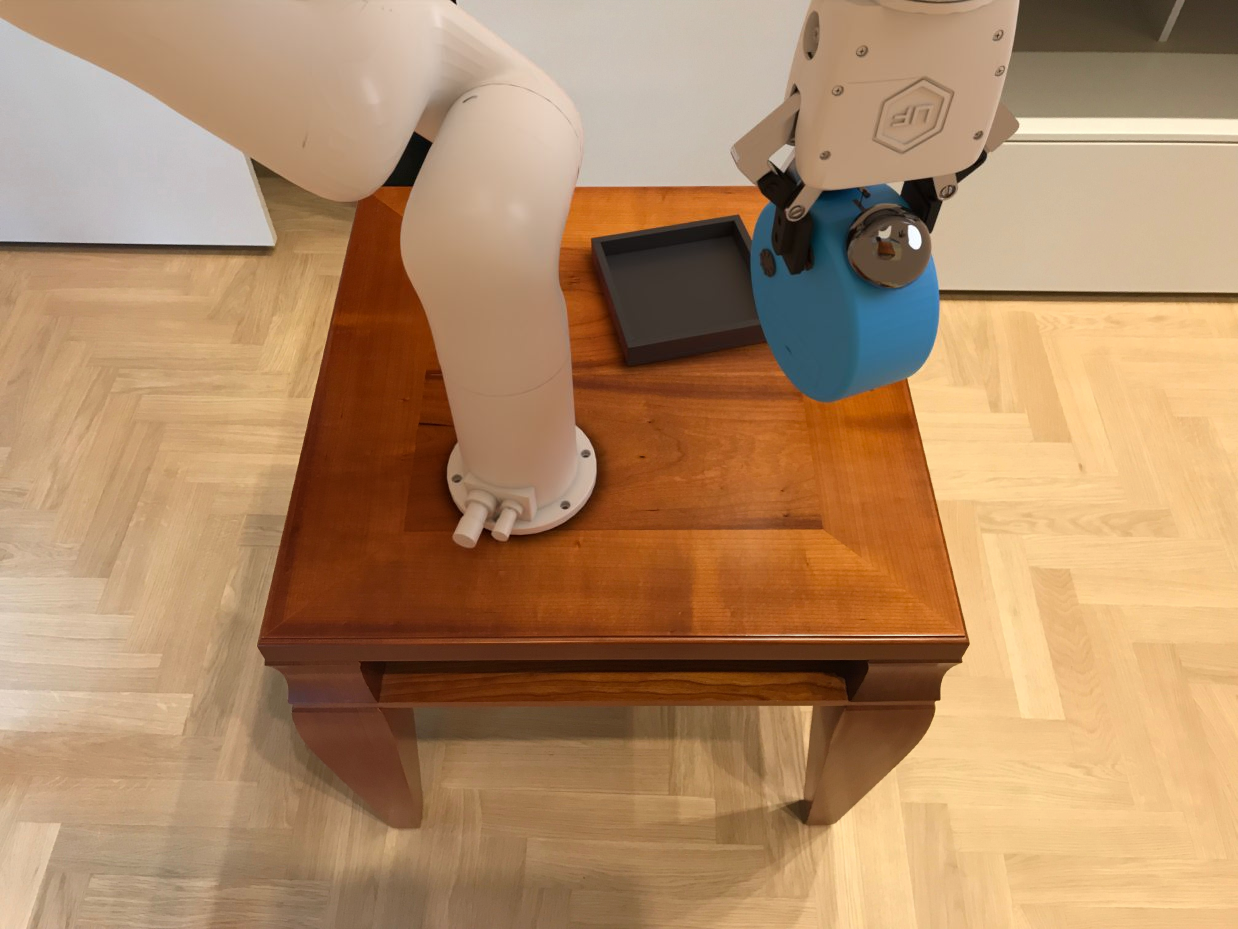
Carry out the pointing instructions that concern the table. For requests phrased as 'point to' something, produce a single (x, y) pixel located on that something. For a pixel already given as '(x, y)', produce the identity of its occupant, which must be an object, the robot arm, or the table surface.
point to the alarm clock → (849, 294)
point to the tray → (679, 289)
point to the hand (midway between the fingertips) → (848, 248)
